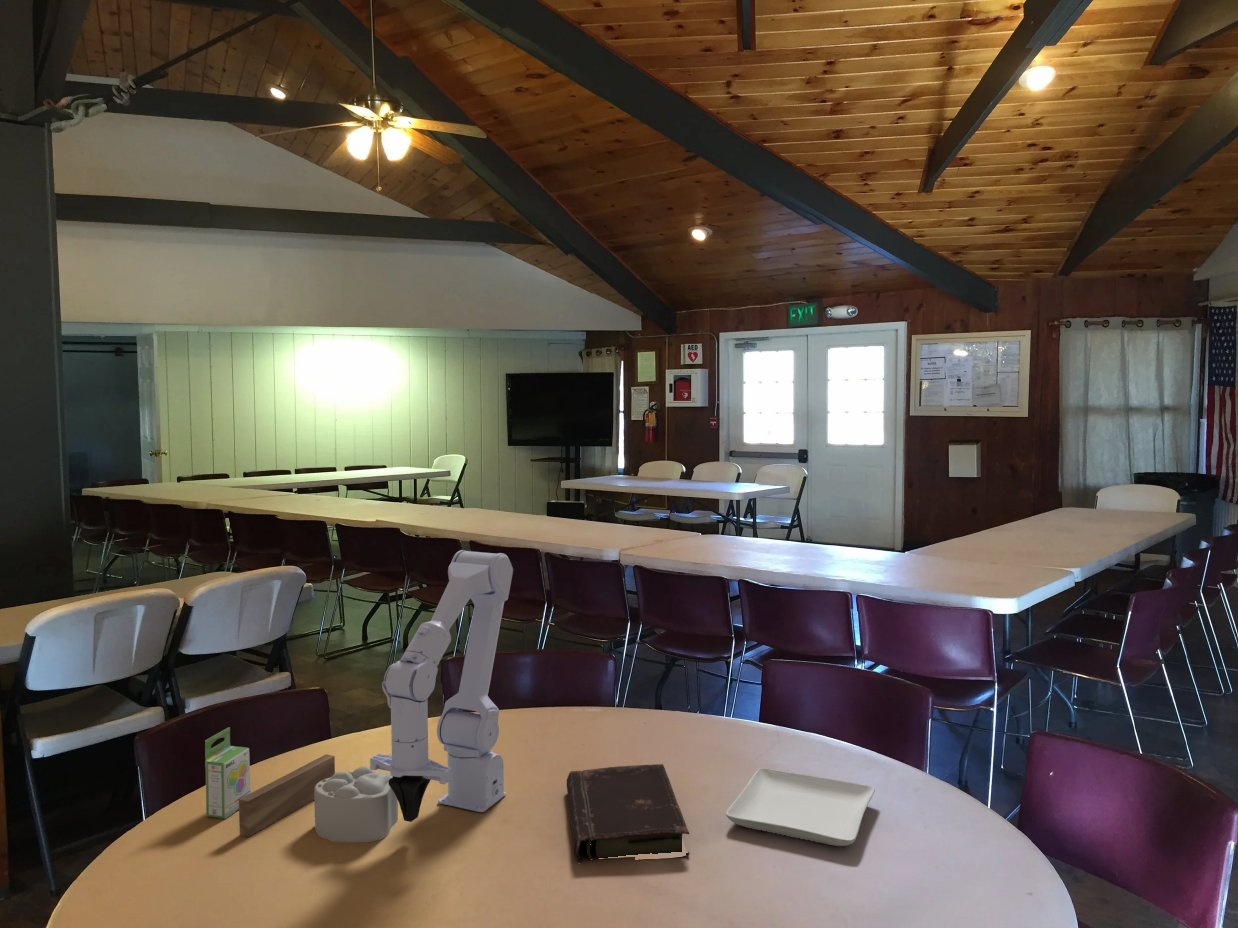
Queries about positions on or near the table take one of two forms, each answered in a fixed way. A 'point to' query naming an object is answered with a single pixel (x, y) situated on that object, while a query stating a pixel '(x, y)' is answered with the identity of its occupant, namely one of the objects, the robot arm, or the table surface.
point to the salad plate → (802, 806)
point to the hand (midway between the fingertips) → (411, 818)
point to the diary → (624, 811)
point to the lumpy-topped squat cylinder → (355, 806)
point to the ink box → (225, 776)
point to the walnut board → (283, 795)
